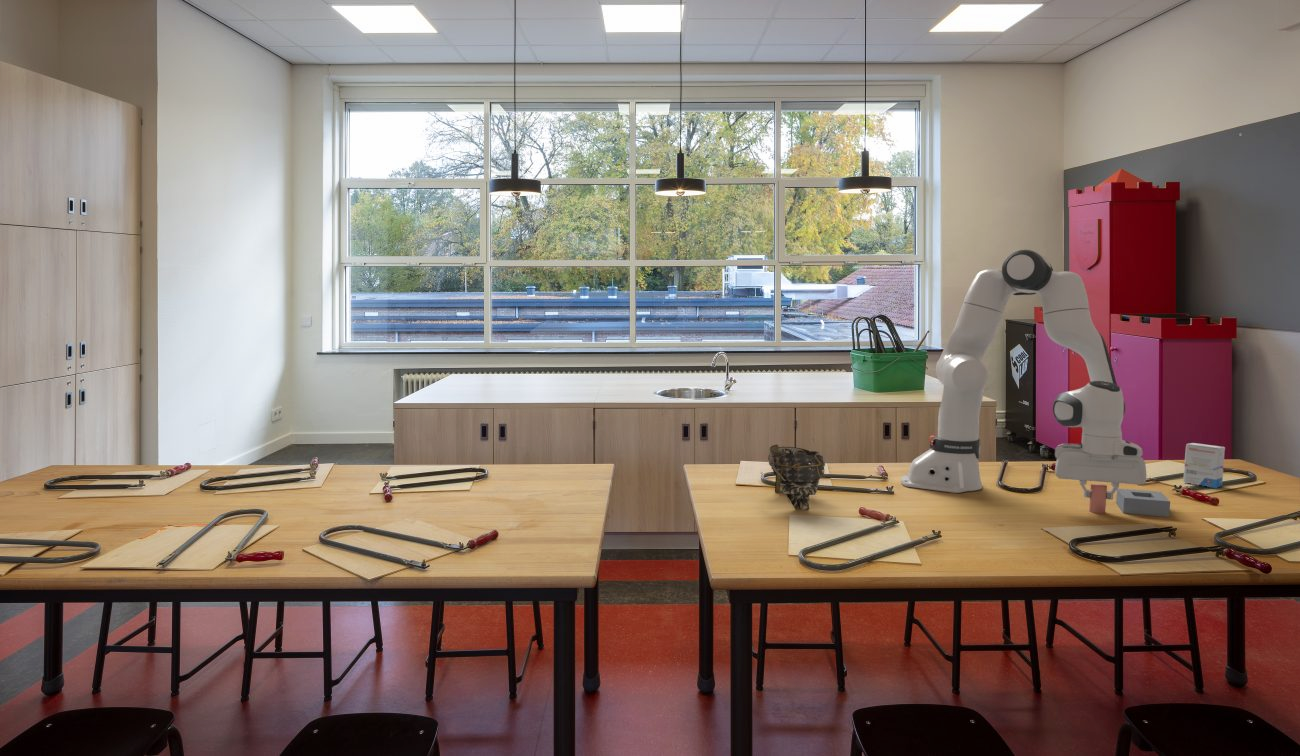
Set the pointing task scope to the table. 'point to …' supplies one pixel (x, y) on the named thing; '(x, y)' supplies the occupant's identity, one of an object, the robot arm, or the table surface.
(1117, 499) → the socket
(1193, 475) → the ink box
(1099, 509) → the peg
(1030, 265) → the robot arm
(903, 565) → the table surface
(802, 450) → the checked fabric bag
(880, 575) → the table surface
